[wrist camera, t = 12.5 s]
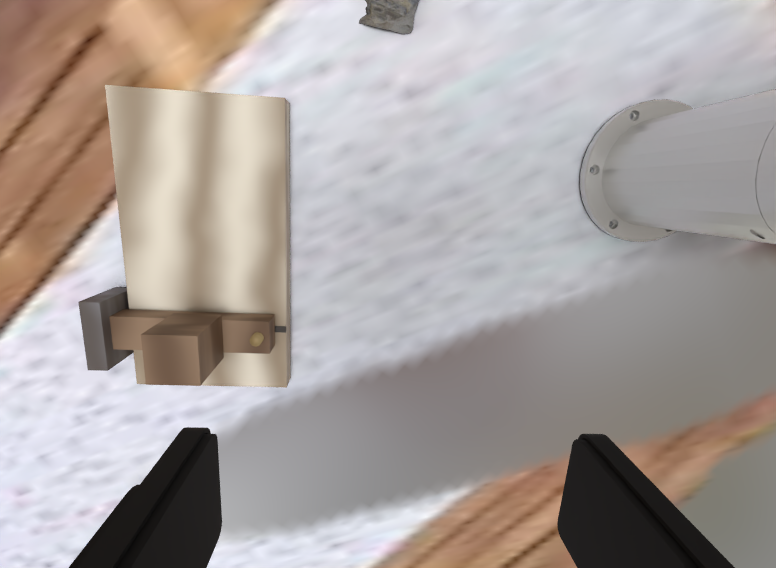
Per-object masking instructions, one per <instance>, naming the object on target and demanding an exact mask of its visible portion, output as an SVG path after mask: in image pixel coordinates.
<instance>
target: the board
mask: <svg viewBox="0 0 776 568" xmlns="http://www.w3.org/2000/svg"><path fill="white" fill-rule="evenodd" d="M105 88H106V97H107V107H108V116H109V125H110V135H111V144H112V154H113V163H114V172H115V182H116V191H117V201H118V210H119V219H120V229H121V238H122V247H123V257H124V266H125V276H126V285H127V294H128V304H129V309H132V310H161V311H189V312H217V313H246V314H274V315H275V346H274V347H273V349H272V351H271V353H270V354H258V353H224V358H223V359H222V361H221V362H220V363H219V364H218V365H217V367H216V368H215V369H214V370H213V371H212V373H211V374H210V375H209V376H208V377H207V379H206V380H205V381H204V382H203V383H202V385H207V386H250V387H287V385H288V383H289V380H290V378H291V373H290V107H289V102H288V101H287V100H286V99H285V98H279V97H265V96H251V95H237V94H223V93H209V92H195V91H181V90H168V89H154V88H140V87H126V86H112V85H105ZM133 351H134V360H135V369H136V379H137V384H146V382H145V372H144V362H143V352H142V350H133Z"/></svg>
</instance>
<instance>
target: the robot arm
mask: <svg viewBox="0 0 776 568" xmlns="http://www.w3.org/2000/svg"><path fill="white" fill-rule="evenodd" d="M590 168H591V172H590ZM580 190H581V196H582V201H583V203H584V206H585V209H586V211H587V213H588V214H589V216H590V218H591V219H592V221H593V222H594V223H595V224H596V225H597V226H598V227H599V228H600V229H601V230H603V231H605V232H606V233H608V234H609V235H611V236H614V237H616V238H619V239H623V240H628V241H636V242H646V241H653V240H657V239H660V238H663V237H666V236H669V235H671V234H672V233H674V232H676V231H684V232H691V233H698V234H705V235H713V236H720V237H727V238H734V239H741V240H749V241H756V242H763V243H770V244H776V89H774V90H769V91H765V92H761V93H757V94H753V95H749V96H744V97H740V98H736V99H732V100H728V101H724V102H719V103H715V104H711V105H707V106H703V107H699V108H694V109H693V108H692V107H690V106H688V105H686V104H684V103H681V102H679V101H673V100H668V99H662V100H651V101H647V102H643V103H639V104H636V105H634V106H631V107H628V108H626V109H625V110H623V111H621V112H619V113H618V114H616V115H615V116H614V117H612V118H611V119H610V120H609V121H608V122H606V123H605V124H604V125H603V127H602V128H601V129H600V130H599V131H598V132H597V134H596V135H595V137H594V138H593V140H592V142H591V143H590V145H589V147H588V149H587V152H586V154H585V157H584V159H583V163H582V168H581V173H580ZM609 223H610V225H609ZM219 479H220V478H219V460H218V441H217V436H216V434H211V433H210V430H209V429H208V428H183V429H182V430H181V431H180V433H179V434H178V435H177V437H176V438H175V439H174V441H173V442H172V443H171V445H170V446H169V447H168V449H167V450H166V451H165V452H164V454H163V455H162V456H161V458H160V459H159V460H158V462H157V463H156V464H155V466H154V467H153V468H152V470H151V471H150V472H149V474H148V475H147V476H146V477H145V479H144V480H143V481H142V483H141V484H140V485H136V486H134V487H132V488H131V489H130V490H129V491H128V492H127V494H126V495H125V496H124V498H123V499H122V500H121V501H120V503H119V504H118V505H117V506H116V508H115V509H114V510H113V512H112V513H111V514H110V515H109V517H108V518H107V519H106V521H105V522H104V523H103V524H102V526H101V527H100V528H99V530H98V531H97V532H96V533H95V535H94V536H93V537H92V538H91V540H90V541H89V542H88V544H87V545H86V546H85V547H84V549H83V550H82V551H81V553H80V554H79V555H78V556H77V558H76V559H75V560H74V561H73V563H72V564H71V565H70V567H69V568H206V567H207V565H208V563H209V560H210V558H211V555H212V553H213V551H214V548H215V546H216V544H217V541H218V539H219V536H220V532H221V526H222V515H221V496H220V480H219ZM558 531H559V534H560V537H561V539H562V541H563V543H564V544H565V546H566V548H567V550H568V552H569V553H570V555H571V557H572V559H573V561H574V562H575V564H576V566H577V568H734V567H733V565H732V564H730V562H728V560H727V559H726V558H725V557H724V556H723V555H722V554H721V553H720V552H719V551H718V550H717V549H716V548H715V547H714V546H713V545H712V544H711V543H710V542H709V541H708V540H707V539H706V538H705V537H704V536H703V535H702V534H701V532H700V531H699V530H698V529H697V528H696V527H695V526H694V525H693V524H692V523H691V522H690V521H689V520H688V519H687V518H686V517H685V516H684V515H683V514H682V513H681V512H680V511H679V510H678V509H677V508H676V507H675V506H674V505H673V504H672V503H671V502H670V501H669V500H668V498H667V497H666V496H665V495H664V494H663V493H662V492H661V491H660V490H659V489H658V488H657V487H656V486H655V485H654V484H653V483H652V482H651V481H650V480H649V479H648V478H647V477H646V476H645V475H644V474H643V473H642V472H641V471H640V470H639V469H638V468H637V467H636V465H635V464H634V463H633V462H632V461H631V460H630V459H629V458H628V457H627V456H626V455H625V454H624V453H623V452H622V451H621V450H620V449H619V448H618V447H617V446H616V445H615V444H614V443H613V442H612V441H611V440H610V439H609V438H608V437H607V436H606V435H603V434H581V435H580V436H579V438H578V439H576V440H574V442H573V444H572V449H571V454H570V460H569V465H568V470H567V475H566V480H565V486H564V491H563V496H562V501H561V506H560V512H559V517H558Z"/></svg>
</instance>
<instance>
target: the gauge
mask: <svg viewBox="0 0 776 568" xmlns="http://www.w3.org/2000/svg"><path fill="white" fill-rule="evenodd" d="M79 309H80V316H81V323H82V330H83V338H84V345H85V352H86V359H87V367H88V370H106V371H108V370H109V369H111V368H112V367H113V366H115V365H116V364H118V363H119V362H121V361H122V360H123V359H125V358H126V357H128V356H129V355H130V354H132V353H133V352H134V351H133V350H142V352H143V362H144V372H145V382H146V384H148V385H192V386H201V385H202V383H203V382H204V381H205V380H206V379H207V377H208V376H209V375H210V374H211V373H212V371H213V370H214V369H215V368H216V367H217V365H218V364H219V363H220V362H221V361H222V359H223V358H224V353H258V354H270V353H271V351H272V349H273V347H274V346H275V315H274V314H246V313H217V312H189V311H161V310H132V309H129V304H128V294H127V288H122V287H115V288H112V289H110V290H107V291H105V292H102V293H100V294H97V295H95V296H92V297H90V298H87V299H85V300H82V301H80V302H79Z"/></svg>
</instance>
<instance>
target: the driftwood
mask: <svg viewBox="0 0 776 568" xmlns="http://www.w3.org/2000/svg"><path fill="white" fill-rule="evenodd" d="M365 1H366V2H367V7H366V13H367V15H365V16H364V17H362V18H361V19H360V21H359V23H360V24H361V23H362V24H364V25H365V24H366V25H370V26H373V27H379V28H382V29H385V30H391V31H393V32H398V33H401V34H405V33H406V34H409V33H411V31H412V29H413V20H414V13H415V11H416V8H417V5H418V2H419V0H365Z"/></svg>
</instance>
